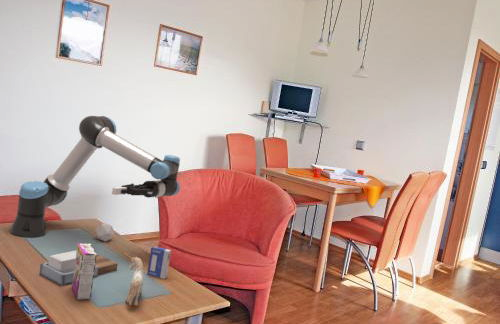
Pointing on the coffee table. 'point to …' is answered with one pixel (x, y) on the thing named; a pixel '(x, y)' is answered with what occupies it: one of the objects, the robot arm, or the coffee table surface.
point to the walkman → (159, 262)
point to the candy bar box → (84, 271)
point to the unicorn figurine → (135, 280)
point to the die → (104, 232)
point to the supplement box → (63, 262)
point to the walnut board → (105, 265)
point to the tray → (59, 274)
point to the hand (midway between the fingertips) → (113, 191)
